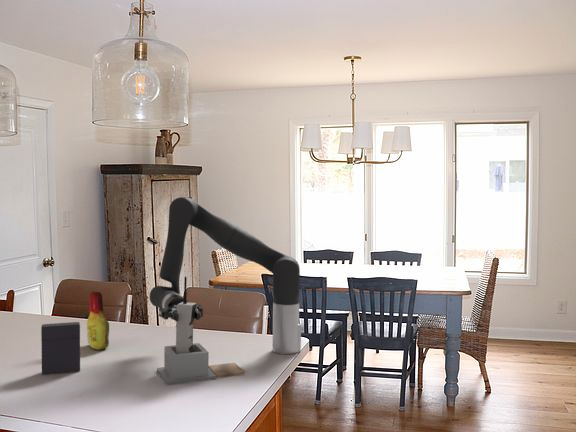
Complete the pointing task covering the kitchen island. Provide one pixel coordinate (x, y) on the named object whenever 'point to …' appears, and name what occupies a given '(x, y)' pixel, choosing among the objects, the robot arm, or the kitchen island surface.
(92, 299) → the bottle
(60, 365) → the calculator
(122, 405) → the kitchen island surface
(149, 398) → the kitchen island surface
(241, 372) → the walnut pad
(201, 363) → the box
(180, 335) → the vintage mobile phone
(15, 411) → the kitchen island surface
